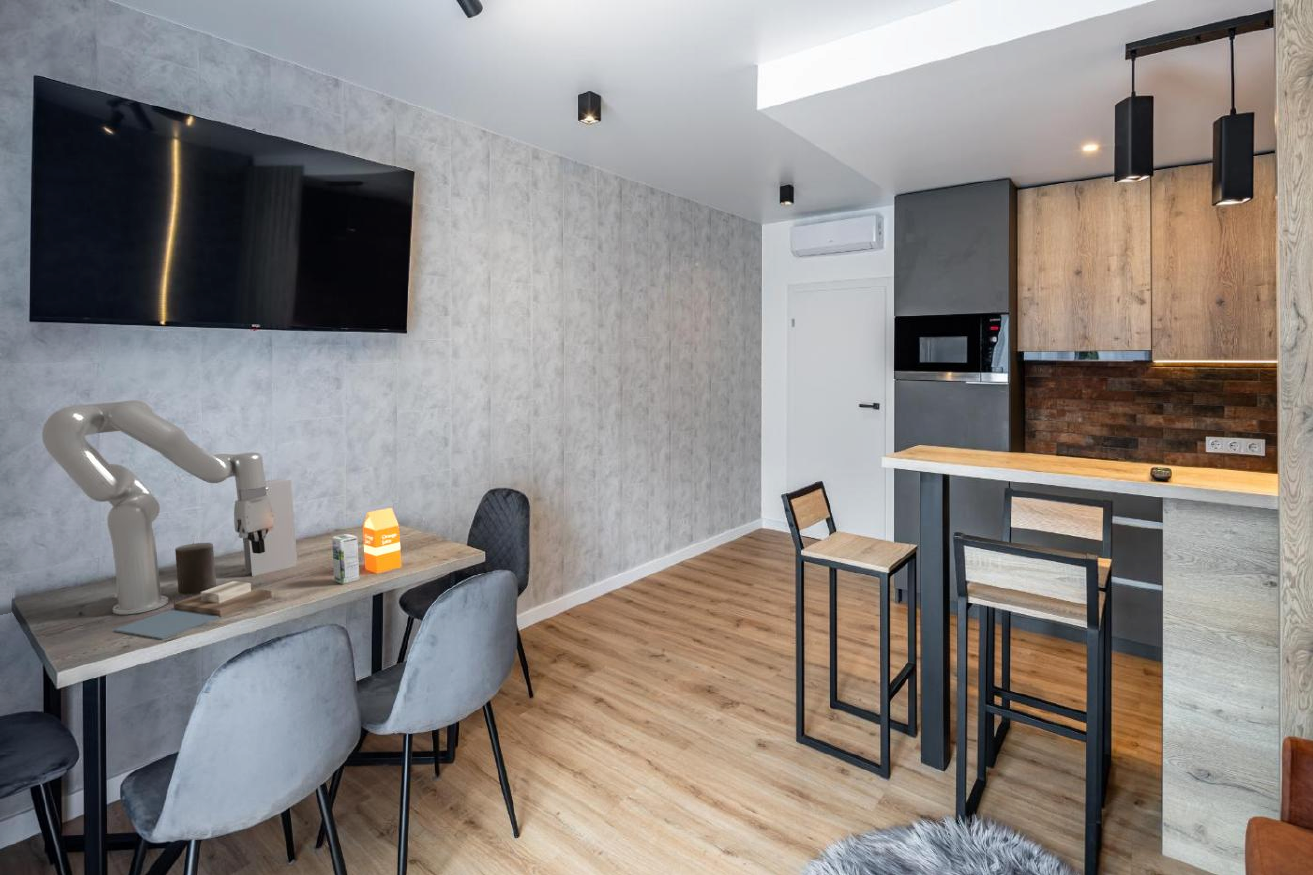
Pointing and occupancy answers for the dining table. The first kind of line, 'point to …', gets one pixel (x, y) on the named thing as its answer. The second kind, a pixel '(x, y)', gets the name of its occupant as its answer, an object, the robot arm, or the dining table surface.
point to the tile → (225, 591)
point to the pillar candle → (195, 568)
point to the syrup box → (345, 558)
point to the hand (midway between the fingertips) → (258, 552)
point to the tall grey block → (275, 533)
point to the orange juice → (381, 541)
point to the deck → (222, 603)
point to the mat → (166, 624)
